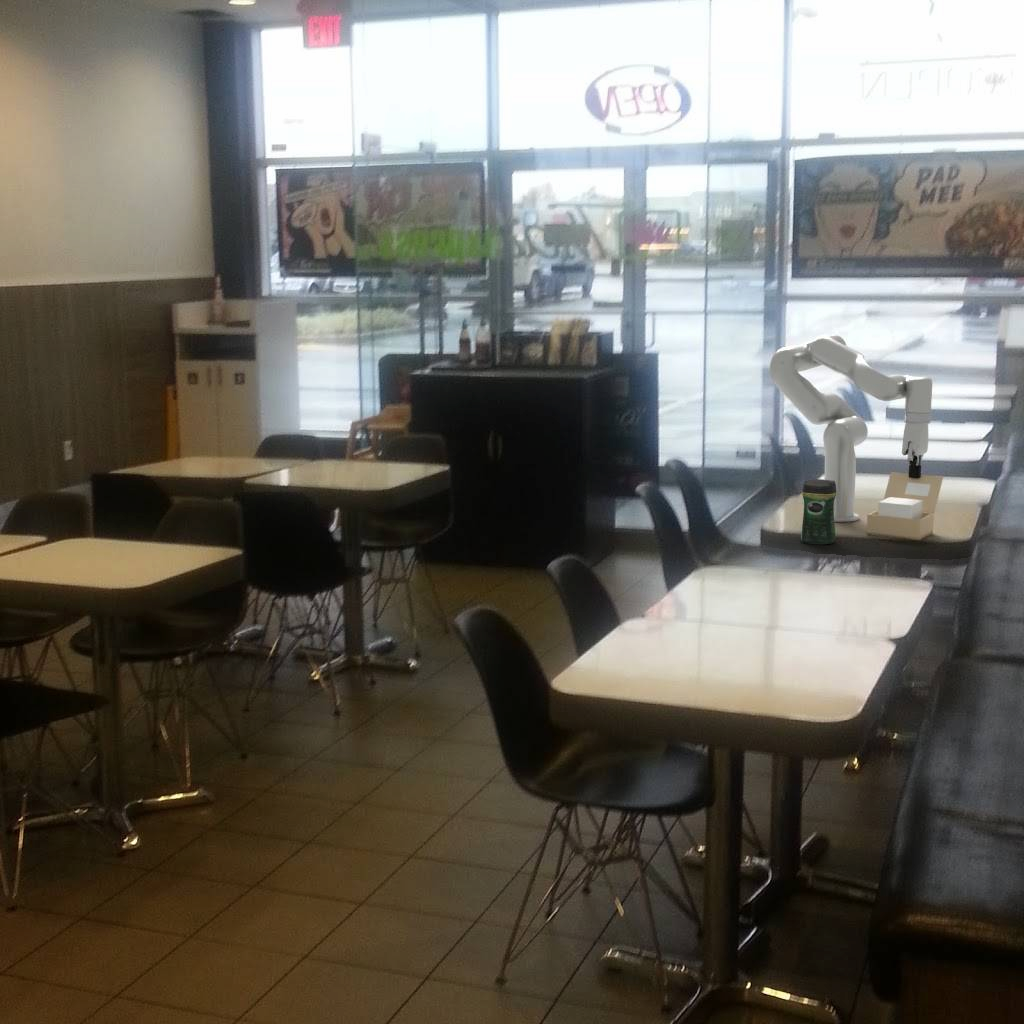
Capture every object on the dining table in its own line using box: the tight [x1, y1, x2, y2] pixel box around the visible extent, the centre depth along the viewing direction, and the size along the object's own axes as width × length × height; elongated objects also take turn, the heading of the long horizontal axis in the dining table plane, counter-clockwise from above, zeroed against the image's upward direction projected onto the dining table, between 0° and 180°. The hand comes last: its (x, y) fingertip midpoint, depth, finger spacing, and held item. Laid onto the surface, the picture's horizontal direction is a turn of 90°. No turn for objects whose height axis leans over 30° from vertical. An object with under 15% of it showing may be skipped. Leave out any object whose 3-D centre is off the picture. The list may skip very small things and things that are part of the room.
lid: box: [883, 471, 944, 514], centre depth 406 cm, size 16×12×1 cm
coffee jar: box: [800, 478, 837, 545], centre depth 388 cm, size 10×8×19 cm
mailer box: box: [866, 497, 935, 541], centre depth 399 cm, size 16×12×10 cm
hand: (914, 477), depth 406 cm, fingers closed
